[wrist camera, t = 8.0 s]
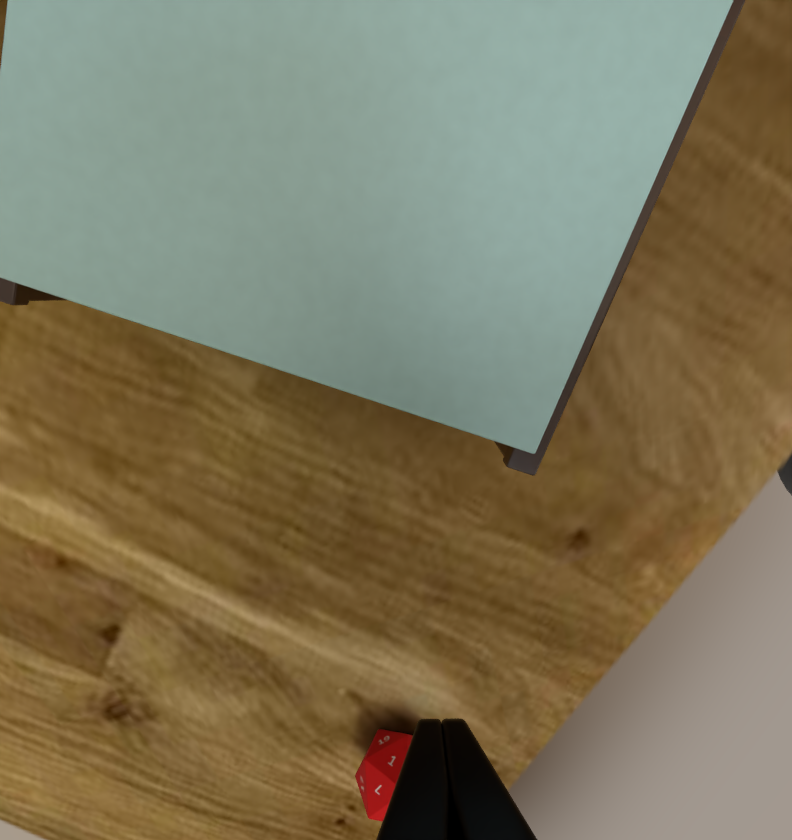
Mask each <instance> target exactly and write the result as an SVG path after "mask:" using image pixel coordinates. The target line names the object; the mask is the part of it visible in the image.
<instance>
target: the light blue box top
mask: <svg viewBox="0 0 792 840" xmlns="http://www.w3.org/2000/svg"><path fill="white" fill-rule="evenodd" d="M732 3H733V0H8V3H7V12H6V22H5V31H4V41H3V50H2V60H1V69H0V278H3V279H6V280H9V281H12V282H15V283H18V284H21V285H24V286H27V287H30V288H33V289H36V290H39V291H42V292H45V293H48V294H51V295H54V296H57V297H60V298H63V299H66V300H69V301H72V302H75V303H78V304H81V305H85V306H88V307H91V308H94V309H97V310H100V311H103V312H106V313H109V314H112V315H115V316H118V317H121V318H124V319H127V320H130V321H133V322H136V323H139V324H142V325H145V326H148V327H151V328H154V329H157V330H160V331H163V332H166V333H169V334H172V335H175V336H178V337H181V338H184V339H187V340H190V341H193V342H196V343H199V344H202V345H205V346H208V347H212V348H215V349H218V350H221V351H224V352H227V353H230V354H233V355H236V356H239V357H242V358H245V359H248V360H251V361H254V362H257V363H260V364H263V365H266V366H269V367H272V368H275V369H278V370H281V371H284V372H287V373H290V374H293V375H296V376H299V377H302V378H305V379H308V380H311V381H314V382H317V383H320V384H323V385H326V386H329V387H332V388H335V389H339V390H342V391H345V392H348V393H351V394H354V395H357V396H360V397H363V398H366V399H369V400H372V401H375V402H378V403H381V404H384V405H387V406H390V407H393V408H396V409H399V410H402V411H405V412H408V413H411V414H414V415H417V416H420V417H423V418H426V419H429V420H432V421H435V422H438V423H441V424H444V425H447V426H450V427H453V428H456V429H459V430H462V431H466V432H469V433H472V434H475V435H478V436H481V437H484V438H487V439H490V440H493V441H496V442H499V443H502V444H505V445H508V446H511V447H514V448H517V449H520V450H523V451H526V452H529V453H532V454H535V453H536V450H537V448H538V446H539V444H540V441H541V439H542V437H543V434H544V432H545V430H546V428H547V425H548V423H549V421H550V418H551V416H552V414H553V412H554V409H555V407H556V405H557V402H558V400H559V398H560V396H561V393H562V391H563V389H564V386H565V384H566V382H567V380H568V377H569V375H570V373H571V370H572V368H573V366H574V364H575V361H576V359H577V357H578V354H579V352H580V350H581V348H582V345H583V343H584V341H585V338H586V336H587V334H588V332H589V329H590V327H591V325H592V322H593V320H594V318H595V316H596V313H597V311H598V309H599V306H600V304H601V302H602V300H603V297H604V295H605V293H606V290H607V288H608V286H609V284H610V281H611V279H612V277H613V274H614V272H615V270H616V268H617V265H618V263H619V261H620V258H621V256H622V254H623V252H624V249H625V247H626V245H627V242H628V240H629V238H630V236H631V233H632V231H633V229H634V226H635V224H636V222H637V220H638V217H639V215H640V213H641V211H642V208H643V206H644V204H645V201H646V199H647V197H648V195H649V192H650V190H651V188H652V185H653V183H654V181H655V179H656V176H657V174H658V172H659V169H660V167H661V165H662V163H663V160H664V158H665V156H666V153H667V151H668V149H669V147H670V144H671V142H672V140H673V137H674V135H675V133H676V131H677V128H678V126H679V124H680V121H681V119H682V117H683V115H684V112H685V110H686V108H687V105H688V103H689V101H690V99H691V96H692V94H693V92H694V89H695V87H696V85H697V83H698V80H699V78H700V76H701V73H702V71H703V69H704V67H705V64H706V62H707V60H708V57H709V55H710V53H711V51H712V48H713V46H714V44H715V41H716V39H717V37H718V35H719V32H720V30H721V28H722V25H723V23H724V21H725V19H726V16H727V14H728V12H729V9H730V7H731V5H732Z"/></svg>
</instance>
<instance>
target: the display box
mask: <svg viewBox="0 0 792 840" xmlns="http://www.w3.org/2000/svg"><path fill="white" fill-rule="evenodd" d="M744 2H745V0H733V3H732V5H731V7H730V9H729V12H728V14H727V16H726V19H725V21H724V23H723V25H722V28H721V30H720V32H719V35H718V37H717V39H716V41H715V44H714V46H713V48H712V51H711V53H710V55H709V57H708V60H707V62H706V64H705V67H704V69H703V71H702V73H701V76H700V78H699V80H698V83H697V85H696V87H695V89H694V92H693V94H692V96H691V99H690V101H689V103H688V105H687V108H686V110H685V112H684V115H683V117H682V119H681V121H680V124H679V126H678V128H677V131H676V133H675V135H674V137H673V140H672V142H671V144H670V147H669V149H668V151H667V153H666V156H665V158H664V160H663V163H662V165H661V167H660V169H659V172H658V174H657V176H656V179H655V181H654V183H653V185H652V188H651V190H650V192H649V195H648V197H647V199H646V201H645V204H644V206H643V208H642V211H641V213H640V215H639V217H638V220H637V222H636V224H635V226H634V229H633V231H632V233H631V236H630V238H629V240H628V242H627V245H626V247H625V249H624V252H623V254H622V256H621V258H620V261H619V263H618V265H617V268H616V270H615V272H614V274H613V277H612V279H611V281H610V284H609V286H608V288H607V290H606V293H605V295H604V297H603V300H602V302H601V304H600V306H599V309H598V311H597V313H596V316H595V318H594V320H593V322H592V325H591V327H590V329H589V332H588V334H587V336H586V338H585V341H584V343H583V345H582V348H581V350H580V352H579V354H578V357H577V359H576V361H575V364H574V366H573V368H572V370H571V373H570V375H569V377H568V380H567V382H566V384H565V386H564V389H563V391H562V393H561V396H560V398H559V400H558V402H557V405H556V407H555V409H554V412H553V414H552V416H551V418H550V421H549V423H548V425H547V428H546V430H545V432H544V434H543V437H542V439H541V441H540V444H539V446H538V448H537V450H536V453H535V454H532V453H529V452H526V451H523V450H520V449H517V448H514V447H511V446H508V445H505V444H502V443H499V442H496V441H494V442H495V443H496V445H497V446H498V448H499V449H500V451H501V452H502V454H503V455H504V458H503V462H504V463H505V465H506V466H507V467H509V468H512V469H515V470H518V471H521V472H524V473H527V474H530V475H535V474H536V472H537V469H538V467H539V465H540V463H541V460H542V458H543V456H544V454H545V451H546V449H547V447H548V445H549V442H550V440H551V438H552V436H553V433H554V431H555V429H556V426H557V424H558V422H559V420H560V417H561V415H562V413H563V411H564V408H565V406H566V404H567V402H568V399H569V397H570V395H571V393H572V390H573V388H574V386H575V384H576V381H577V379H578V377H579V375H580V372H581V370H582V368H583V366H584V363H585V361H586V359H587V357H588V354H589V352H590V350H591V347H592V345H593V343H594V341H595V338H596V336H597V334H598V332H599V329H600V327H601V325H602V323H603V320H604V318H605V316H606V314H607V311H608V309H609V307H610V305H611V302H612V300H613V298H614V296H615V293H616V291H617V289H618V287H619V284H620V282H621V280H622V278H623V275H624V273H625V271H626V269H627V266H628V264H629V262H630V259H631V257H632V255H633V253H634V250H635V248H636V246H637V244H638V241H639V239H640V237H641V235H642V232H643V230H644V228H645V226H646V223H647V221H648V219H649V217H650V214H651V212H652V210H653V208H654V205H655V203H656V201H657V199H658V196H659V194H660V192H661V190H662V187H663V185H664V183H665V181H666V178H667V176H668V174H669V171H670V169H671V167H672V165H673V162H674V160H675V158H676V156H677V153H678V151H679V149H680V147H681V144H682V142H683V140H684V138H685V135H686V133H687V131H688V129H689V126H690V124H691V122H692V120H693V117H694V115H695V113H696V111H697V108H698V106H699V104H700V102H701V99H702V97H703V95H704V92H705V90H706V88H707V86H708V83H709V81H710V79H711V77H712V74H713V72H714V70H715V68H716V65H717V63H718V61H719V59H720V56H721V54H722V52H723V50H724V47H725V45H726V43H727V41H728V38H729V36H730V34H731V32H732V29H733V27H734V25H735V23H736V20H737V18H738V16H739V14H740V11H741V9H742V7H743V4H744ZM47 300H66V299H63V298H60V297H57V296H54V295H51V294H48V293H45V292H42V291H39V290H36V289H33V288H30V287H27V286H24V285H21V284H18V283H15V282H12V281H9V280H6V279H3V278H0V301H1V302H4V303H7V304H10V305H27V304H28V303H29V301H47Z"/></svg>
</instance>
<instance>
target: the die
mask: <svg viewBox="0 0 792 840" xmlns="http://www.w3.org/2000/svg"><path fill="white" fill-rule="evenodd" d="M412 737H413V736H412V735H409V734H404V733H399V732H393V731H388V730H383V729H378V731H377V733H376V735H375V737H374V739H373V741H372V743H371V745H370V747H369V749H368V751H367V753H366V755H365V757H364V759H363V761H362V763H361V765H360V767H359V769H358V771H357V773H356V775H355V777H356V780H357V783H358V787H359V790H360V793H361V796H362V799H363V802H364V806H365V809H366V812H367V815H368V818H369V819H373V820H378V821H383V820H384V817H385V814H386V811H387V808H388V805H389V803H390V800H391V797H392V794H393V791H394V788H395V785H396V783H397V780H398V777H399V774H400V771H401V768H402V765H403V763H404V760H405V757H406V754H407V751H408V748H409V745H410V743H411V740H412Z"/></svg>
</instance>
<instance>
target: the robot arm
mask: <svg viewBox="0 0 792 840" xmlns="http://www.w3.org/2000/svg"><path fill="white" fill-rule="evenodd" d="M377 840H537V839H536V837H535V835H534V834H533V832H532V831H531V829H530V827H529V825H528V824H527V822H526V821H525V819H524V817H523V816H522V814H521V813H520V811H519V809H518V807H517V806H516V804H515V803H514V801H513V799H512V797H511V796H510V794H509V792H508V791H507V789H506V788H505V786H504V784H503V783H502V781H501V779H500V778H499V776H498V774H497V773H496V771H495V769H494V768H493V766H492V764H491V763H490V761H489V760H488V758H487V756H486V755H485V753H484V751H483V750H482V748H481V746H480V745H479V743H478V741H477V740H476V738H475V736H474V735H473V733H472V732H471V730H470V728H469V727H468V725H467V723H466V722H465V721H464V720H463V719H444V720H442V723H441V721H440V720H439V719H420V720H419V721H418V723H417V726H416V728H415V731H414V734H413V737H412V740H411V743H410V745H409V748H408V751H407V754H406V757H405V760H404V763H403V765H402V768H401V771H400V774H399V777H398V780H397V783H396V785H395V788H394V791H393V794H392V797H391V800H390V803H389V805H388V808H387V811H386V814H385V817H384V820H383V822H382V825H381V828H380V831H379V834H378V837H377Z"/></svg>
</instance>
